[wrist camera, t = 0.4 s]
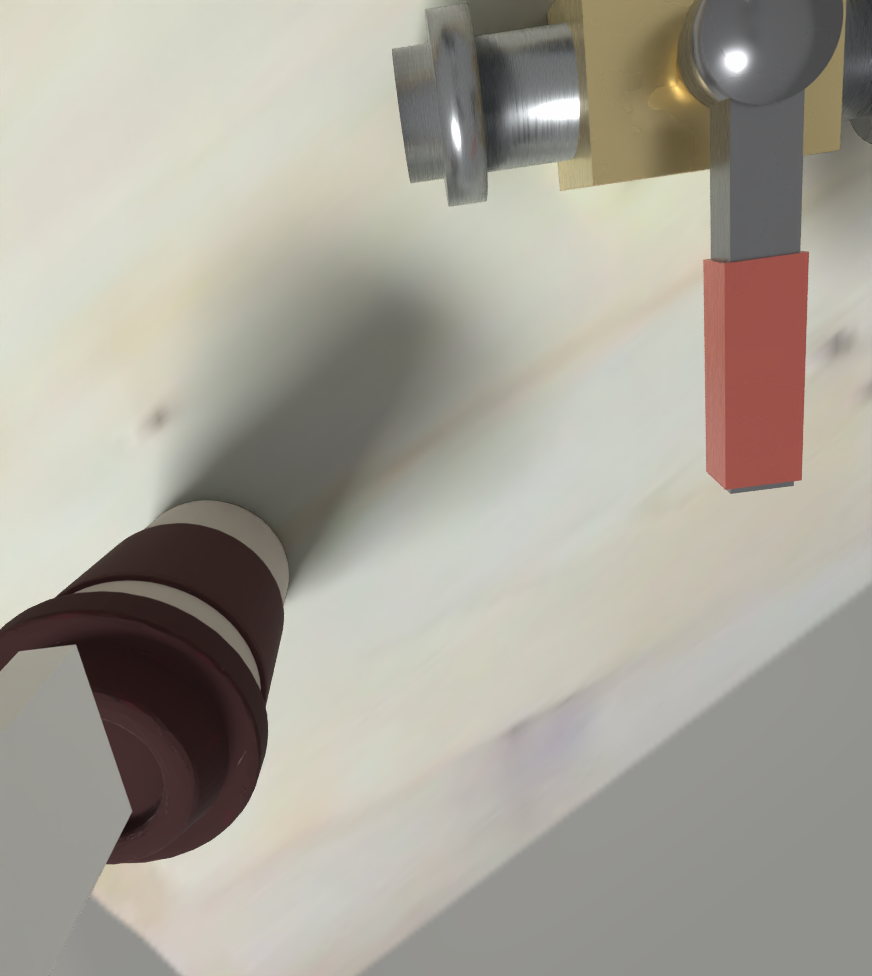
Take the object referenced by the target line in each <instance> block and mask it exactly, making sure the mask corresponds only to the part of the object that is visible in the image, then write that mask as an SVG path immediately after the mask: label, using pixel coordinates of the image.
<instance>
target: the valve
mask: <svg viewBox="0 0 872 976" xmlns="http://www.w3.org/2000/svg"><path fill="white" fill-rule="evenodd" d="M693 2H694V0H555V1H554V3H553V4H552V6H551V8H550V9H549V11H548V13H547V19H548V25H545V26H538V27H532V28H525V29H518V30H512V31H505V32H499V33H492V34H486V35H479V36H474V32H473V26H472V20H471V15H470V11H469V7H468V4H467V3H463V4H457V5H450V6H444V7H437V8H431V9H425V18H426V29H427V39H428V43H427V44H421V45H414V46H408V47H401V48H395V49H392V56H393V65H394V73H395V81H396V89H397V97H398V104H399V112H400V119H401V126H402V133H403V140H404V147H405V153H406V160H407V166H408V172H409V178H410V183H416V182H423V181H430V180H437V179H444V181H445V188H446V195H447V201H448V206H449V207H451V206H458V205H464V204H471V203H478V202H485V201H487V190H488V182H487V172H492V171H499V170H506V169H512V168H519V167H526V166H533V165H540V164H547V163H554V162H558V168H559V181H560V191H563V190H570V189H577V188H584V187H590V186H597V185H604V184H611V183H618V182H625V181H632V180H639V179H646V178H653V177H660V176H667V175H674V174H681V173H688V172H694V171H701V170H708V169H710V110H709V108H708V107H706V106H704V105H702V104H701V103H700V102H699V101H697V100H696V99H695V98H694V97H693V95H692V94H691V93H690V92H689V90H688V89H687V87H686V85H685V83H684V81H683V79H682V76H681V73H680V70H679V65H678V57H677V45H678V38H679V33H680V29H681V25H682V23H683V20H684V17H685V15H686V13H687V11H688V9H689V8H690V6H691V5H692V3H693ZM848 119H849V120H850V122H851V124H852V126H853V128H854V130H855V131H856V132H857V134H858V135H859V136H860V137H861V138H862V139H863V140H865V141H867V142H868V143H871V144H872V0H843V25H842V30H841V35H840V38H839V41H838V45H837V47H836V49H835V52H834V54H833V56H832V58H831V60H830V61H829V63H828V65H827V66H826V68H825V69H824V70H823V72H822V73H821V74H820V75H819V76H818V77H817V78H816V80H815V81H814V82H813V83H811V84H810V85H809V86H808V87H807V88H805V99H804V134H803V156H804V155H810V154H817V153H824V152H831V151H837V150H840V135H841V120H848Z"/></svg>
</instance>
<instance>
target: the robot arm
mask: <svg viewBox="0 0 872 976" xmlns="http://www.w3.org/2000/svg"><path fill="white" fill-rule="evenodd" d="M131 813H132V809H131V806H130V803H129V800H128V797H127V794H126V791H125V788H124V785H123V782H122V779H121V776H120V774H119V771H118V768H117V765H116V762H115V759H114V756H113V753H112V750H111V747H110V744H109V741H108V738H107V735H106V732H105V729H104V726H103V723H102V720H101V717H100V714H99V711H98V708H97V705H96V702H95V699H94V697H93V694H92V691H91V688H90V685H89V682H88V679H87V676H86V673H85V670H84V667H83V664H82V661H81V658H80V655H79V652H78V649H77V646H76V645H68V646H59V647H51V648H43V649H35V650H26V651H19V652H18V653H17V654H16V655H15V656H14V657H13V658H12V659H11V660H10V661H9V663H8V664H7V665H6V666H5V667H4V668H3V669H2V670H1V671H0V976H50V974H51V971H52V970H53V968H54V966H55V964H56V962H57V960H58V958H59V956H60V954H61V952H62V950H63V948H64V946H65V944H66V942H67V940H68V938H69V936H70V934H71V932H72V930H73V928H74V926H75V924H76V922H77V920H78V918H79V916H80V914H81V912H82V910H83V908H84V906H85V904H86V902H87V900H88V898H89V896H90V894H91V892H92V890H93V888H94V886H95V884H96V882H97V880H98V878H99V876H100V874H101V872H102V870H103V868H104V866H105V864H106V862H107V860H108V858H109V856H110V854H111V852H112V851H113V849H114V847H115V845H116V843H117V841H118V839H119V837H120V835H121V833H122V831H123V829H124V827H125V825H126V823H127V821H128V819H129V817H130V815H131Z"/></svg>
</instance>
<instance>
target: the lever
mask: <svg viewBox="0 0 872 976" xmlns="http://www.w3.org/2000/svg"><path fill="white" fill-rule="evenodd" d="M842 25H843V0H694V2H693V3H692V5H691V6H690V8H689V9H688V11H687V13H686V15H685V17H684V20H683V23H682V25H681V29H680V33H679V38H678V45H677V57H678V65H679V70H680V73H681V76H682V79H683V81H684V83H685V85H686V87H687V89H688V90H689V92H690V93H691V94H692V95H693V97H694V98H695V99H696V100H697V101H699V102H700V103H701V104H702V105H704V106H706V107H708V108H709V110H710V206H711V259H705V260H703V263H704V336H705V409H706V472H707V473H708V474H709V475H710V476H712V477H713V478H714V479H715V480H716V481H717V482H718V483H719V484H720V485H721V486H722V487H723V488H724V489H725V490H727V491H728V492H729V493H730V494H732V493H740V492H748V491H756V490H764V489H772V488H780V487H787V486H794V481H799V480H802V450H803V419H804V387H805V356H806V324H807V293H808V262H809V252H806V251H800V241H801V205H802V170H803V134H804V99H805V88H807V87H808V86H809V85H810V84H811V83H813V82H814V81H815V80H816V78H817V77H818V76H819V75H820V74H821V73H822V72H823V70H824V69H825V68H826V66H827V65H828V63H829V61H830V60H831V58H832V56H833V54H834V52H835V49H836V47H837V45H838V41H839V38H840V35H841V30H842Z"/></svg>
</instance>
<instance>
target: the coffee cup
mask: <svg viewBox="0 0 872 976" xmlns="http://www.w3.org/2000/svg"><path fill="white" fill-rule="evenodd" d="M288 583H289V568H288V561H287V558H286V555H285V552H284V548H283V547H282V545H281V543H280V541H279V539H278V538H277V536H276V535H275V533H274V532H273V531H272V530H271V529H270V527H269V526H268V525H267V524H266V523H264V522H263V521H262V520H261V519H260V518H259V517H257V516H256V515H254V514H252V513H251V512H249V511H248V510H246V509H243V508H241V507H239V506H237V505H234V504H230V503H226V502H222V501H212V500H203V501H193V502H189V503H185V504H181V505H178V506H176V507H174V508H172V509H170V510H168V511H166V512H165V513H163V514H162V515H160V516H159V517H158V518H157V519H156V520H154V521H153V522H152V523H151V524H150V525H149V526H147V527H146V528H145V529H144V530H142V531H140V532H137V533H135V534H134V535H132V536H130V537H128V538H126V539H125V540H124V541H122V542H121V543H120V544H118V545H117V546H116V547H115V548H114V549H112V550H111V551H110V552H109V553H108V554H106V555H105V556H104V557H103V558H102V559H100V560H99V561H98V562H97V563H96V564H94V565H93V566H92V567H91V568H90V569H88V570H87V571H86V572H85V573H84V574H82V575H81V576H80V577H79V578H78V579H76V580H75V581H74V582H73V583H72V584H70V585H69V586H68V587H67V588H66V589H64V590H63V591H62V592H61V593H60V594H58V595H57V596H56V597H55V598H53V599H50V600H47V601H45V602H42V603H40V604H38V605H36V606H33V607H31V608H29V609H27V610H25V611H24V612H22V613H20V614H19V615H18V616H16V617H15V618H13V619H12V620H11V621H9V622H8V623H7V624H5V625H4V626H3V627H2V628H1V629H0V671H1V670H2V669H3V668H4V667H5V666H6V665H7V664H8V663H9V661H10V660H11V659H12V658H13V657H14V656H15V655H16V654H17V653H18V652H19V651H26V650H35V649H43V648H51V647H59V646H68V645H76V646H77V649H78V652H79V655H80V658H81V661H82V664H83V667H84V670H85V673H86V676H87V679H88V682H89V685H90V688H91V691H92V694H93V697H94V699H95V702H96V705H97V708H98V711H99V714H100V717H101V720H102V723H103V726H104V729H105V732H106V735H107V738H108V741H109V744H110V747H111V750H112V753H113V756H114V759H115V762H116V765H117V768H118V771H119V774H120V776H121V779H122V782H123V785H124V788H125V791H126V794H127V797H128V800H129V803H130V806H131V809H132V813H131V815H130V817H129V819H128V821H127V823H126V825H125V827H124V829H123V831H122V833H121V835H120V837H119V839H118V841H117V843H116V845H115V847H114V849H113V851H112V852H111V854H110V856H109V858H108V860H107V862H106V864H119V863H144V862H150V861H155V860H161V859H166V858H171V857H174V856H177V855H180V854H183V853H185V852H188V851H191V850H194V849H196V848H198V847H200V846H202V845H203V844H205V843H207V842H209V841H211V840H212V839H214V838H215V837H216V836H218V835H219V834H220V833H221V832H223V831H224V830H225V829H226V828H227V827H228V826H230V825H231V824H232V822H233V821H234V820H235V819H236V818H237V817H238V816H239V814H240V813H241V812H242V811H243V809H244V808H245V806H246V805H247V803H248V802H249V800H250V798H251V795H252V793H253V791H254V789H255V786H256V783H257V780H258V777H259V773H260V770H261V767H262V764H263V760H264V757H265V753H266V748H267V740H268V720H267V712H266V703H267V699H268V694H269V690H270V685H271V681H272V676H273V672H274V667H275V663H276V658H277V654H278V649H279V645H280V640H281V636H282V631H283V623H284V609H283V606H284V601H285V597H286V593H287V589H288Z"/></svg>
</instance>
